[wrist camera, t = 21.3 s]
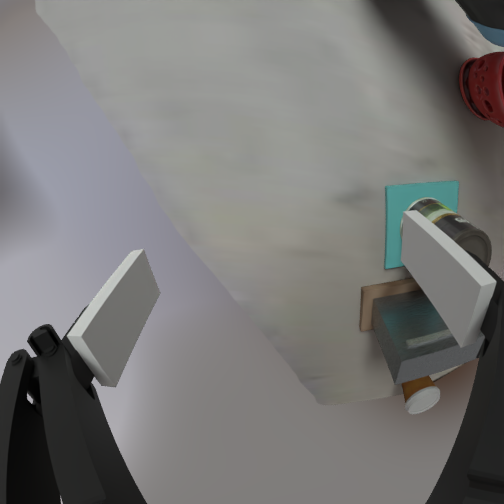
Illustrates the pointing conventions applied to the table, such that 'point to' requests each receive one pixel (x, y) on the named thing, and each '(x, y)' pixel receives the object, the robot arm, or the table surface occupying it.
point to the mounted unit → (411, 331)
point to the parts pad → (401, 200)
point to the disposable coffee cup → (420, 394)
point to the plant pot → (484, 86)
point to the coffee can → (453, 227)
